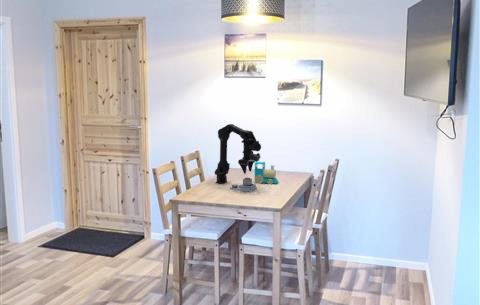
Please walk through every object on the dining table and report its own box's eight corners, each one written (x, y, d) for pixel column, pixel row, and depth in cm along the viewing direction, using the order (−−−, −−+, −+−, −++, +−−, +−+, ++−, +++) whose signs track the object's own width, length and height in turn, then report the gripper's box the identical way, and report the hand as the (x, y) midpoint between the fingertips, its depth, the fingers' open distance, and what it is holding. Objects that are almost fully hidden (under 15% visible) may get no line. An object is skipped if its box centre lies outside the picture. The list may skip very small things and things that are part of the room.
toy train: (277, 184, 333) (277, 164, 331) (254, 183, 337) (254, 163, 335) (278, 182, 341) (279, 162, 339) (256, 181, 345) (256, 161, 343)
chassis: (230, 189, 317) (230, 184, 317) (236, 186, 327) (236, 181, 327) (250, 191, 311) (250, 187, 311) (256, 188, 321) (256, 183, 321)
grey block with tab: (242, 187, 317) (242, 178, 316) (245, 186, 321) (245, 177, 320) (249, 188, 315) (249, 178, 314) (251, 187, 319) (251, 177, 318)
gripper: (253, 152, 302) (253, 175, 305) (263, 148, 319) (263, 171, 322) (237, 151, 307) (237, 174, 309) (248, 147, 324) (248, 169, 326)
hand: (247, 172), depth 316 cm, fingers open, 9 cm apart
